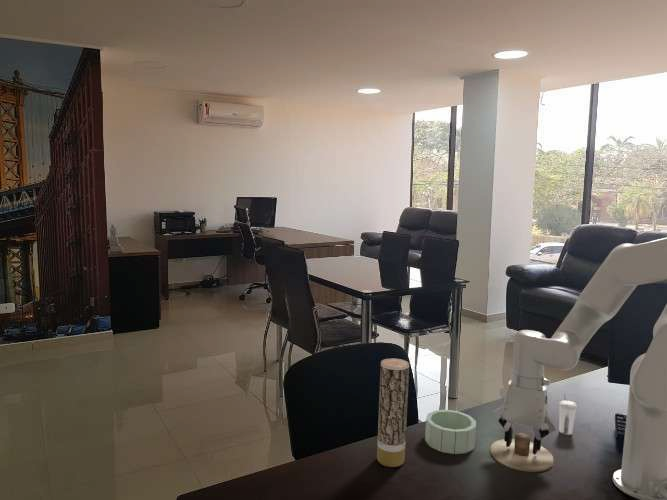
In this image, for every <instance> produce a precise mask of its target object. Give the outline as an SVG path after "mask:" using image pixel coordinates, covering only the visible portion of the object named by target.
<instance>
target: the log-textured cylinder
mask: <svg viewBox="0 0 667 500" xmlns="http://www.w3.org/2000/svg"><path fill="white" fill-rule="evenodd" d="M409 375H410V363H409V362H408V361H406V360H404V359H400V358H385V359H382V360H381V361H380V374H379V376H380V377H379V394H378V395H379V397H378V398H379V399H378V419H377V420H378V421H377V425H378V426H377V442H376V444H377V445H376V446H377V447H376V449H377V450H376V459H377V462H378V463H379V464H380V465H382V466H384V467H386V468H387V467H388V468H396V467H397V468H398V467H400V466H402V465H403V464H404V462H405V460H406V458H405V457H406V438H407V422H408V421H407V418H408V417H407V416H408V400H409V399H408V398H409V396H408V395H409V377H410V376H409Z"/></svg>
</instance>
